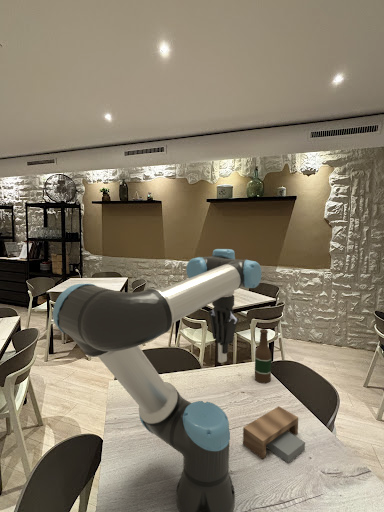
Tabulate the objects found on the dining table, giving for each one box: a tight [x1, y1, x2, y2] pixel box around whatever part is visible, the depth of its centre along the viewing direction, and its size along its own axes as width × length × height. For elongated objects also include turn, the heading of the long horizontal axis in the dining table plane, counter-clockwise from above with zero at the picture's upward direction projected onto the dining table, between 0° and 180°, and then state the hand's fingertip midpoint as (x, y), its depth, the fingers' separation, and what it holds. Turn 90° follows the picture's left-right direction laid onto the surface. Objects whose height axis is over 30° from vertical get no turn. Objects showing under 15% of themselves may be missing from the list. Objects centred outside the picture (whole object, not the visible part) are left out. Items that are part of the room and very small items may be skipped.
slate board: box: [266, 431, 306, 464], centre depth 94 cm, size 9×11×3 cm
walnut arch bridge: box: [242, 406, 299, 460], centre depth 97 cm, size 19×8×6 cm, turn 128°
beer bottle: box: [254, 328, 272, 384], centre depth 136 cm, size 8×8×24 cm
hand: (222, 361), depth 101 cm, fingers closed
